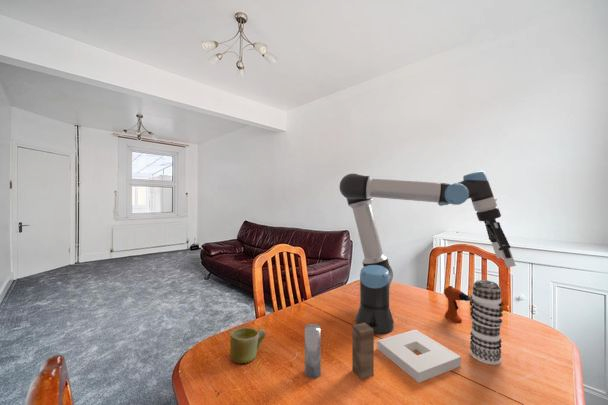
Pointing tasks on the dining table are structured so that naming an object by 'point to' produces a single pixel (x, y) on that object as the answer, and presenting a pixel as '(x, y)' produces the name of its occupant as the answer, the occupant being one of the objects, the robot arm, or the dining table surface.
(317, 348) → the round peg
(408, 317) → the dining table surface
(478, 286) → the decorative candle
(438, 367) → the socket plate
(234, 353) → the mug
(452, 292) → the toy drill
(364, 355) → the square peg
